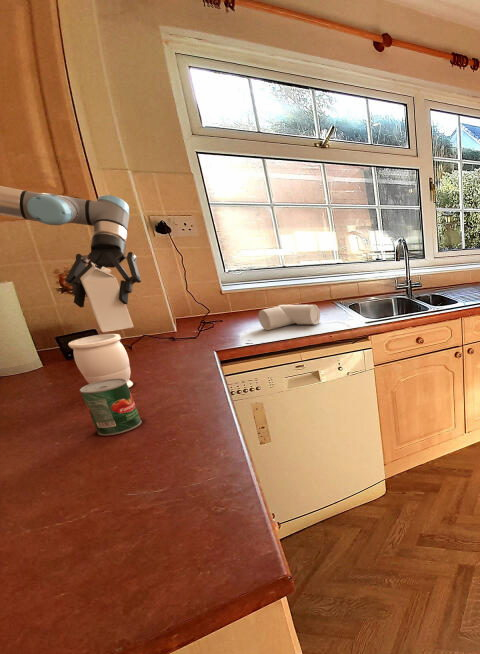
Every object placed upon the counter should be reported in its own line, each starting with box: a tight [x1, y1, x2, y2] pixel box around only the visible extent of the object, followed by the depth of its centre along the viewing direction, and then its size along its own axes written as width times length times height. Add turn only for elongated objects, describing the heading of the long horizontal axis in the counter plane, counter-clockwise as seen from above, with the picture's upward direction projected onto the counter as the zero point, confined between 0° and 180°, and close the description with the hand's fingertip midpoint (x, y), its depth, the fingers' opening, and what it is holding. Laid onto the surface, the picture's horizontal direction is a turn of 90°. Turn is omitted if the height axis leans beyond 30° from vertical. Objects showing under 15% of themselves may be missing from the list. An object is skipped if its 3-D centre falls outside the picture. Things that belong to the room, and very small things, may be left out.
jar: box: [68, 333, 134, 389], centre depth 118 cm, size 11×10×15 cm
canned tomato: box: [79, 378, 142, 437], centre depth 98 cm, size 8×8×11 cm
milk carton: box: [80, 262, 134, 333], centre depth 123 cm, size 7×7×19 cm
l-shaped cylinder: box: [257, 304, 321, 331], centre depth 179 cm, size 18×11×20 cm
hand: (101, 303), depth 120 cm, fingers closed on milk carton, 9 cm apart
